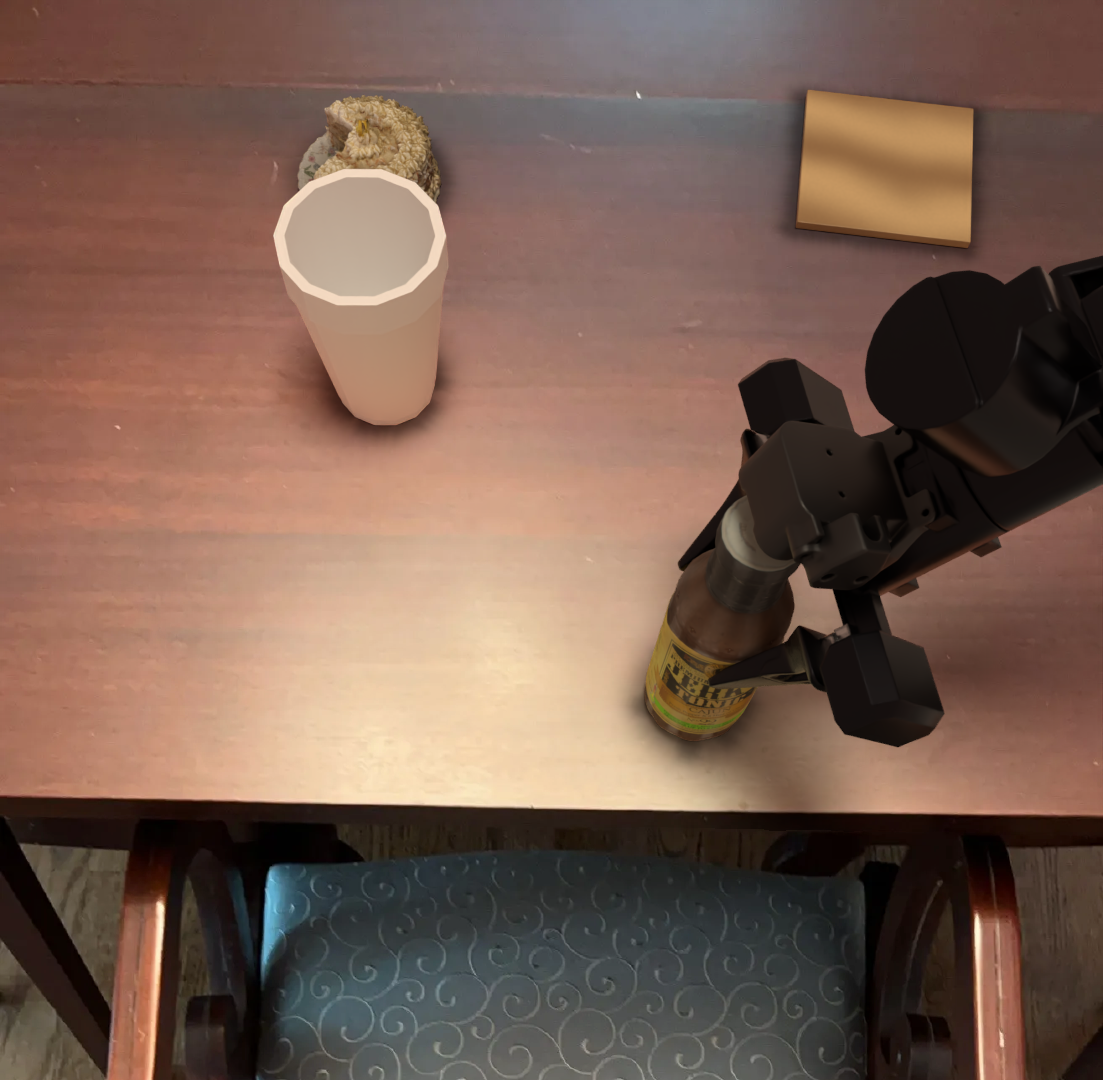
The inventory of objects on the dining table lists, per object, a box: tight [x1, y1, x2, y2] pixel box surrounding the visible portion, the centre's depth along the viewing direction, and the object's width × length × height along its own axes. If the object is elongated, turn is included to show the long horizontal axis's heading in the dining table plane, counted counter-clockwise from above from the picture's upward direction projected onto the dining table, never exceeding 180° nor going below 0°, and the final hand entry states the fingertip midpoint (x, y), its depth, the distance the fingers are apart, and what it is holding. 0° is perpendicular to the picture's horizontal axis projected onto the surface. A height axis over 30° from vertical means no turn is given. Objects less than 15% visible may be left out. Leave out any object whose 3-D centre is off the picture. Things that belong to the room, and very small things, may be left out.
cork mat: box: [795, 89, 974, 249], centre depth 83 cm, size 12×12×1 cm
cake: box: [296, 94, 442, 204], centre depth 79 cm, size 10×10×5 cm
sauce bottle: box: [643, 495, 802, 742], centre depth 61 cm, size 6×6×20 cm
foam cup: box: [272, 169, 450, 426], centre depth 71 cm, size 10×9×13 cm
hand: (697, 625), depth 60 cm, fingers open, 6 cm apart
